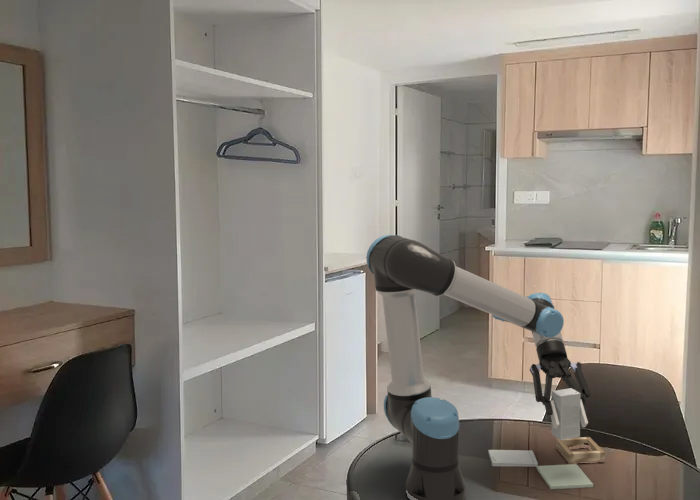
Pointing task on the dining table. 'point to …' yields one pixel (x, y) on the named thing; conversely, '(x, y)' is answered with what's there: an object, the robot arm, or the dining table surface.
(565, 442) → the cradle
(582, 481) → the pad
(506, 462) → the hard drive
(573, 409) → the skincare box
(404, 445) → the dining table surface
